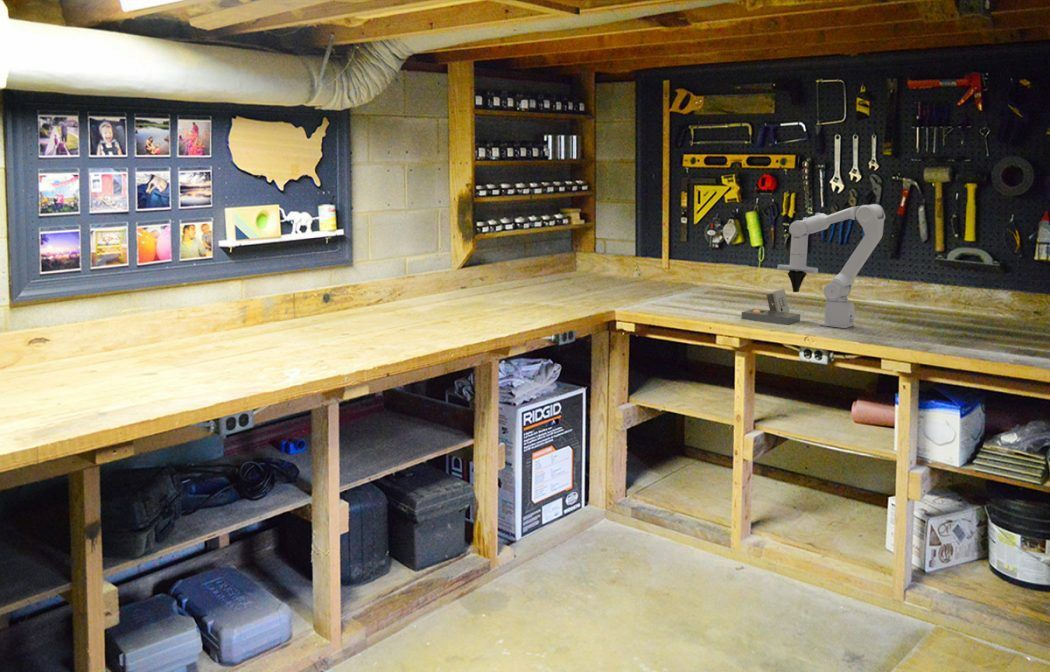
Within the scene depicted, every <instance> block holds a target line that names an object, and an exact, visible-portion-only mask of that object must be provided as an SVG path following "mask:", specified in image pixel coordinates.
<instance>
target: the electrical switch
mask: <svg viewBox="0 0 1050 672" xmlns="http://www.w3.org/2000/svg"><path fill="white" fill-rule="evenodd" d="M766 299H767V303H768V307H769V311H778V312H786V313H790V307H789V304H788V299H787V294H786V290H785V288H780V289H777V290H774V291H772V292H771V293H769V294H766Z"/></svg>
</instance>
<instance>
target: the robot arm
mask: <svg viewBox="0 0 1050 672" xmlns="http://www.w3.org/2000/svg"><path fill="white" fill-rule="evenodd" d="M849 219H850V220H853V221H857V222H858V223H859V225H860V227H862V229H863V233H864V235H863V237H862V239H860V241H859V243H858V244H857V246H856V248H855V249H854V251H853V252H852V254H851V255H850V256H849V258H848V259H847V262H846V263H845V264H844V266H843V267H842V268H841V270H840V271H839V273H838V274H837V275H835V277H834V278H833V279H832V280H831V281H830V282H828V283H827V284H825V286H824V288H823V295H824V297H825V308H824V309H825V310H824V321H823V322H822V323H819V326H826V327H835V328H840V329H841V328H842V329H848V328H851V327H854V326H855V309H856V307H855V303H854V302H852V301H848V296H849V295H850V294H851V292H852V287H853V284H855V280H854V279H855V278H856V276H857V275H858V273H859V272H860V270H861V269H862V268H863V266H864V264H865V263H866V262H867V260H868V258H869V257H870V256H871V254H872V253H873V252H874V250H875V248H876V247H877V245H878V244H879V243H880V241H881V240H882V237H883V233H884V223H885V219H886V213H885V211H884V209H883V207H882V205H880V204H877V203H871V204H862V205H857V206H852V207H848V208H845V209H843V210H840V211H835V212H834V213H830V214H825V213H824V212H823V213H821V212H816V213H815V215H813V216H809V217H807V216H805V217H803V218H802V220H794V221H793V222H792V223H791V224H790V225H789V227H788V228H789V229H788V230H789V234H790V235H791V238H790V240H791V241H790V252H789V253H790V254H789V255H790V256H789V264H777V267H776V269H777V271H785V272H787V276H788V278H789V280H790V283H791V287H792V292H793V293H799V292H800V290H801V289H800V288H801V285H802V283H803V281H804V280H805V278H806V276H807V274H812V275H813V274H814V275H816V274H818V273H819V268H818V267H812V266H808V265H807V257H808V246H809V245H808V242H809V235H811V234H815V233H818V232H821V231H824V230H828V228H829V227H830V225H831V224H832V225H833V224H835V223H838V222H843V221H846V220H849Z"/></svg>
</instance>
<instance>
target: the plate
mask: <svg viewBox="0 0 1050 672" xmlns="http://www.w3.org/2000/svg"><path fill="white" fill-rule="evenodd" d="M756 309H757V310H759V311H760V312H761V313H757V312H753V311H754V310H756ZM740 319H742V320H747V319H748V321H756V322H764V323H770V322H771V323H772V324H778V325H787V326H788V325H791V324H795V323H798V322H800V321H801V314H800V313H796V312H795V313H793V312H789V313H786V312H778V311H770V309H769V310H768V309H759V308H751V309H749V310H745V311H741V318H740ZM771 323H770V324H771Z"/></svg>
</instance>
